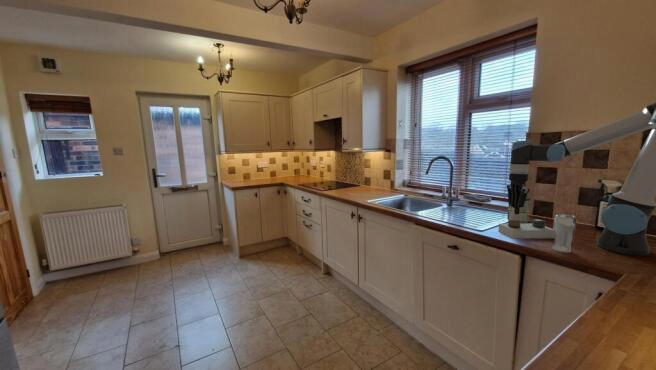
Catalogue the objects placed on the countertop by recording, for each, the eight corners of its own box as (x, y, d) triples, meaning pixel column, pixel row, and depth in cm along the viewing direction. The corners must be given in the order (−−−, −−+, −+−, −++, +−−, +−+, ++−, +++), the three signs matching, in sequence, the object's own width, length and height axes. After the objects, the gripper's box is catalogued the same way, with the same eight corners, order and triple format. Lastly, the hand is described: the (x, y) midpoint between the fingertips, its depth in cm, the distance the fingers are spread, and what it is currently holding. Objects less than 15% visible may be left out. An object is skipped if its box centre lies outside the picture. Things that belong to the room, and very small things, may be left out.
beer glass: (550, 250, 112) (554, 216, 110) (551, 245, 117) (555, 212, 115) (572, 254, 108) (577, 219, 105) (572, 249, 113) (576, 215, 110)
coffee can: (503, 217, 162) (505, 195, 160) (521, 218, 161) (523, 195, 159) (513, 222, 152) (515, 198, 150) (532, 223, 151) (535, 198, 149)
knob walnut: (522, 233, 130) (523, 221, 129) (511, 233, 130) (512, 221, 129) (515, 230, 135) (516, 219, 134) (505, 230, 135) (506, 219, 134)
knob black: (546, 233, 129) (548, 221, 128) (536, 233, 129) (537, 221, 129) (539, 230, 134) (540, 218, 133) (529, 230, 134) (530, 218, 134)
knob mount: (554, 238, 126) (555, 230, 126) (512, 238, 127) (513, 230, 126) (537, 230, 137) (538, 223, 137) (498, 231, 138) (499, 223, 137)
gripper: (536, 174, 121) (531, 223, 125) (517, 171, 134) (513, 216, 138) (520, 174, 121) (515, 223, 125) (502, 171, 134) (498, 216, 138)
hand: (514, 219), depth 131 cm, fingers closed
